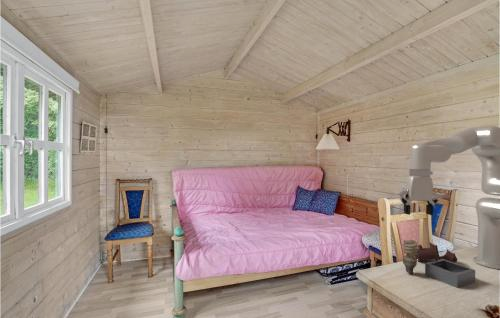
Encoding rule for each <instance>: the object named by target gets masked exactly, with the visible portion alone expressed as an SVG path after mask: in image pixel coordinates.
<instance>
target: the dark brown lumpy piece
mask: <svg viewBox="0 0 500 318" xmlns="http://www.w3.org/2000/svg"><path fill="white" fill-rule="evenodd" d="M428 241H429V247H423V245H422V244H418V245H417V246H418V248H417V255H415V256H414V257H415V258H416V259H418V261H417V262H423V261H424V262H425V261H432V260H433V261H436V260H441V259H445V260H448V261H450V262H453V263H457V262H458V258H457V256H456V253H455V252H454V251H453V250H451V249H448V248H446V253H445V254H444V255H442V256H441V255H440V254H439V253H440V252H439V247H438V245H437V244H436V243H434V242H433V241H431V240H428Z"/></svg>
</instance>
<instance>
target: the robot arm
mask: <svg viewBox="0 0 500 318" xmlns="http://www.w3.org/2000/svg"><path fill="white" fill-rule="evenodd" d="M470 149H471V151H472V153H473V154H474V155H475V156H476V157H477V158H478V160H479V161H480V163H481V167H482V169H481V183H480V185H481V190H482V192H483V193H484V194H486V195H492V196H497V197H500V127H499V126H496V125H488V126H477V127H470V128H466V129H464V130H461V131H459V132H457V133H455V134H452V135H449V136H448V135H447V136H444V137H440V138H437V139H433V140H428V141H426V142H423V143H421V144H412V145H411V146H410V148H409V172H408V176H407V177H406V179H405V184H404V190H403V191H401V192H399V193H398V194H397V196H398V199H399V200H400V202H401V203H402V204H403V214H405V215H407V216H408V215H409V216H410V215H411V205H410V204H411V203H412V202H414V201H415V202H426V207H425V208H426V209H425V213H426V215H428V216H434V207H435V206H436V204H437V203H438V202H439V200H440V197H441V195H440V194H438V193H436V192H435V191H434V184H433V183H434V182H433V178H432V177H431V176H432V175H433V173H434V172H433V171H431V170H432V169H431V167H432V163H439V164H440V163H445V162H447V161H449V160H450V159H451V157H452V155H455V154H461V153H464V152H466V151H469V150H470ZM475 212H476V215H477V256H475V257H473V259H472V260H473V262H475V263H476V264H477V265H480V266H483V267H485V268H490V269H497V270H500V198H495V197H481V198H479V199H477V200H476V203H475Z"/></svg>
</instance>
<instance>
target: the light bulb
mask: <svg viewBox="0 0 500 318" xmlns="http://www.w3.org/2000/svg"><path fill="white" fill-rule="evenodd" d="M418 245H419V243H418V242H417V241H416V240H413V239H409V240H407V239H406V240H403V244H402V246H403V248H402V249H403V253H405V254H406V255H403V256H402V264H403V265H404V266H405V272H406V273H408V275H412V274H414V269H415V267H417V264H418V261H417V259H416V258H415V255H417V249H418Z"/></svg>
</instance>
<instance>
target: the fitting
mask: <svg viewBox="0 0 500 318" xmlns="http://www.w3.org/2000/svg"><path fill="white" fill-rule="evenodd" d="M424 275H425V276H427V277H430V278H432V279H434V280H437V281H439V282H442V283H445V284H447V285H449V286H452V287H454V288H456V289H458V288H462V287H464V286H467V285H470V284H473V283H476V269H473V268H471V267H468V266H466V265H462V264H459V263H457V262H455V263H453V262H450V261H448V260H445V259H441V260H433V261H432V260H431V261H428V262H425V263H424Z"/></svg>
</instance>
